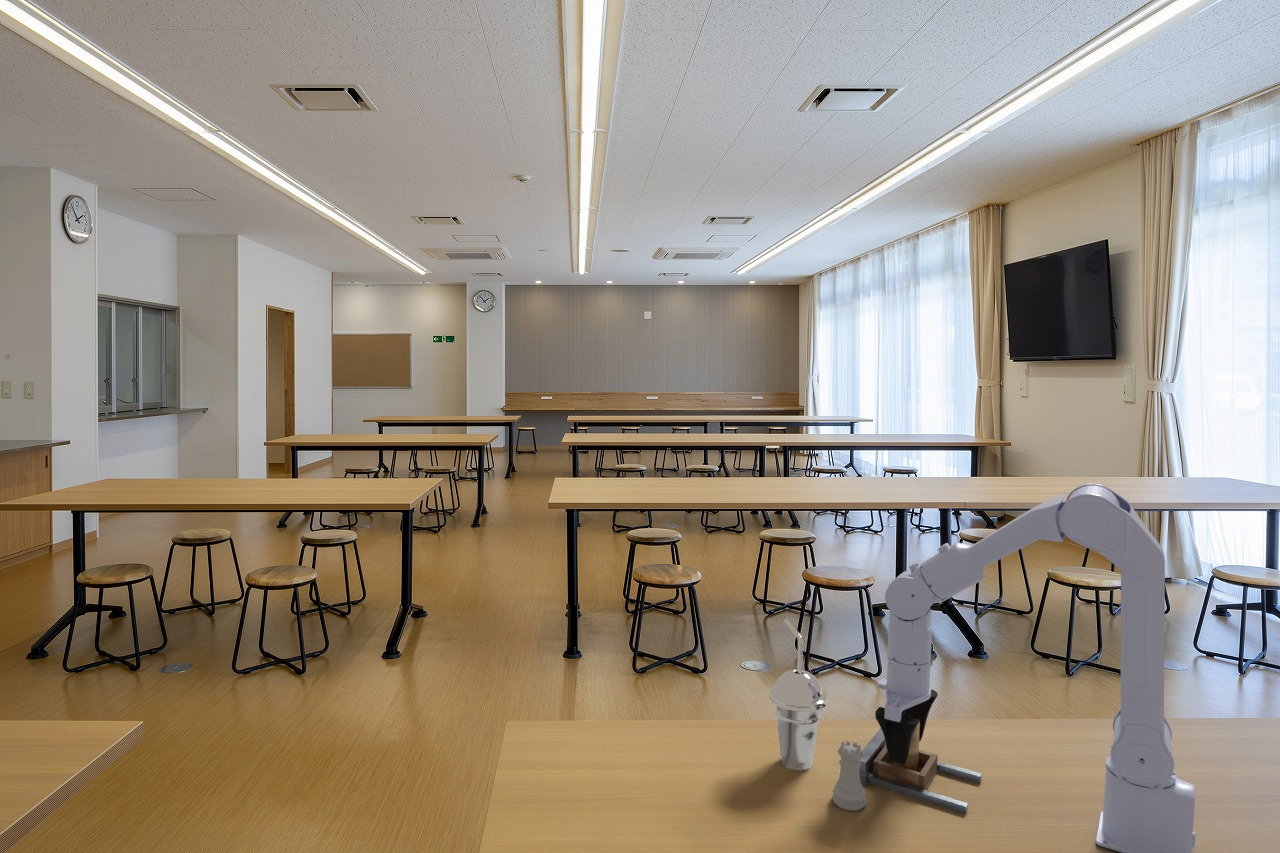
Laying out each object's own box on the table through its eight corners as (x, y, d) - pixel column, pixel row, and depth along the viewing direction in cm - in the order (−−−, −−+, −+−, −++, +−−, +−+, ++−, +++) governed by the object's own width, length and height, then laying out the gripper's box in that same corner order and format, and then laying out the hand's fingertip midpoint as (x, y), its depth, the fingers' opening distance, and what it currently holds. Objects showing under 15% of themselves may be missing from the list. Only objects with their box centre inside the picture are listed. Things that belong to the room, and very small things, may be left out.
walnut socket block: (936, 772, 113) (937, 754, 113) (923, 794, 107) (924, 776, 107) (888, 757, 117) (888, 741, 117) (872, 779, 111) (873, 761, 111)
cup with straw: (765, 773, 113) (767, 637, 111) (770, 743, 121) (772, 616, 120) (826, 781, 111) (829, 643, 109) (826, 749, 119) (830, 621, 118)
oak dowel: (920, 770, 113) (922, 719, 112) (914, 781, 110) (916, 729, 109) (895, 763, 114) (897, 713, 114) (889, 774, 112) (890, 723, 111)
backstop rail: (983, 777, 112) (984, 753, 112) (964, 818, 102) (965, 792, 102) (881, 747, 120) (882, 725, 120) (854, 783, 110) (855, 759, 110)
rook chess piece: (867, 814, 103) (869, 755, 102) (832, 810, 104) (833, 752, 103) (865, 795, 107) (866, 739, 106) (831, 791, 108) (832, 735, 107)
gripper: (895, 636, 119) (892, 722, 120) (863, 668, 107) (860, 763, 108) (944, 646, 115) (940, 735, 116) (916, 680, 103) (913, 779, 104)
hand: (905, 750), depth 112 cm, fingers open, 7 cm apart
